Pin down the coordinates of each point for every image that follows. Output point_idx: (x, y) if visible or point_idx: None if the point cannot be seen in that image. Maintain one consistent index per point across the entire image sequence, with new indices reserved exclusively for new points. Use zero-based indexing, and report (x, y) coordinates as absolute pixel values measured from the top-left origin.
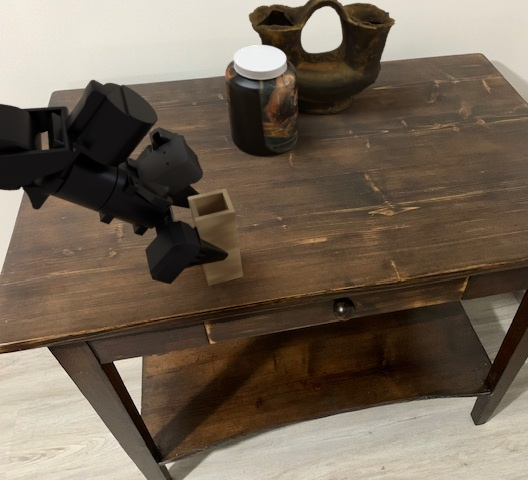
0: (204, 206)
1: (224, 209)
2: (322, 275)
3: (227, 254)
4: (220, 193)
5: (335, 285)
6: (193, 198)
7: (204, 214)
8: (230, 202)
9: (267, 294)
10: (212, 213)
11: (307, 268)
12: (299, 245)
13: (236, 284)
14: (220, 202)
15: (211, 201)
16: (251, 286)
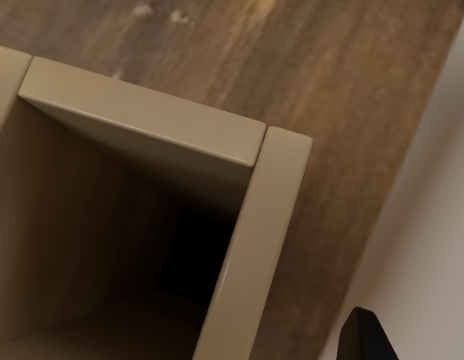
0: (13, 274)
1: (99, 155)
2: (401, 38)
3: (378, 320)
4: (12, 115)
5: (452, 30)
6: None
7: (52, 281)
8: (181, 105)
9: (369, 202)
10: (75, 231)
11: (354, 55)
12: (266, 24)
13: (280, 256)
14: (61, 155)
15: (17, 214)
16: (314, 223)
